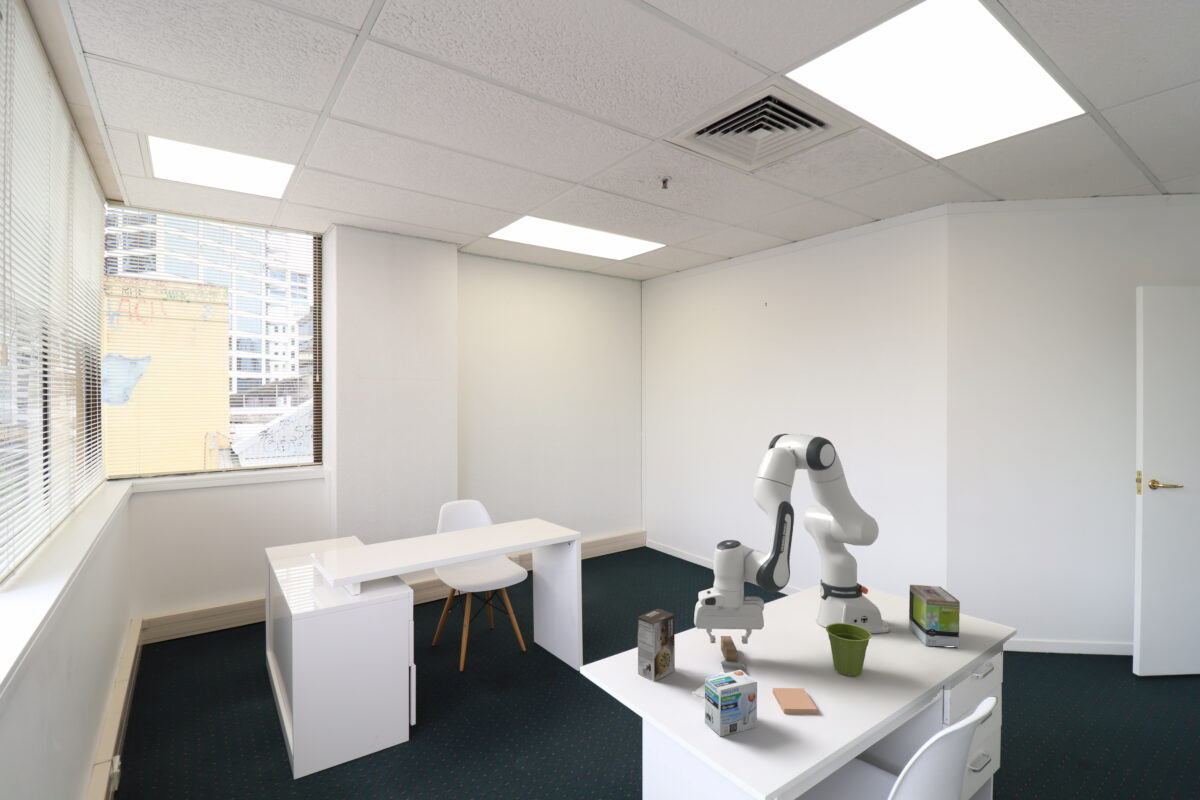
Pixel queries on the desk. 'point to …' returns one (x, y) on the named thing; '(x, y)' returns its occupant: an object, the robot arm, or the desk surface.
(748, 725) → the light bulb box
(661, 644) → the coffee box
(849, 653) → the plant pot
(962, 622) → the desk surface
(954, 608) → the tea box
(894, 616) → the desk surface
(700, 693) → the butcher knife
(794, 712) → the tile
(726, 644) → the wooden handled scraper
